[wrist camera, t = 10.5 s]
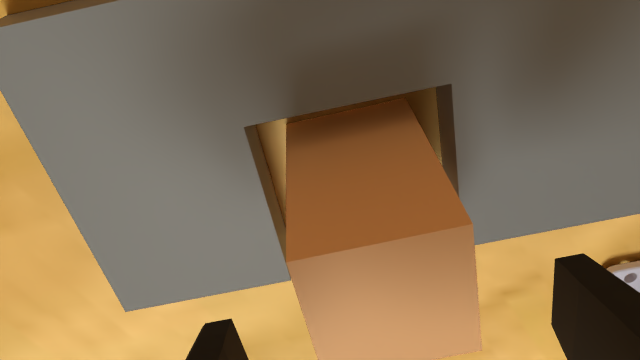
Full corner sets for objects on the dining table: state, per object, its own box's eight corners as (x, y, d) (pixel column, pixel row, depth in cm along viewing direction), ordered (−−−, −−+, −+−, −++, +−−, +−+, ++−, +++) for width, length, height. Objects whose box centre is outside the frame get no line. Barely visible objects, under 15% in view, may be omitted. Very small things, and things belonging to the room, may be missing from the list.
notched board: (644, -130, 13) (697, -131, 12) (608, 182, 19) (640, 213, 17) (6, 15, 14) (-32, 34, 13) (139, 273, 20) (125, 311, 18)
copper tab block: (405, 97, 16) (472, 223, 10) (419, 197, 19) (482, 350, 13) (286, 124, 17) (286, 262, 11) (312, 219, 19) (325, 380, 13)
